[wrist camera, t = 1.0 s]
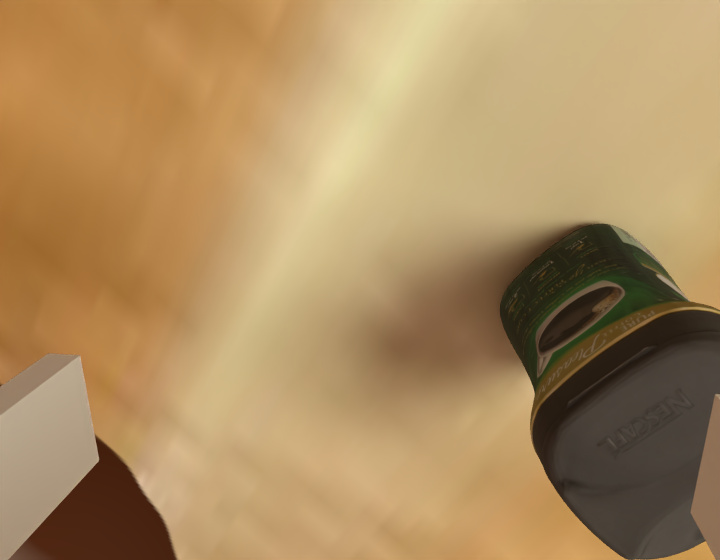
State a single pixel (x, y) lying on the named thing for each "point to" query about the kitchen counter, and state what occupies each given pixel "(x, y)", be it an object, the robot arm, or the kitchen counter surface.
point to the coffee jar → (617, 386)
